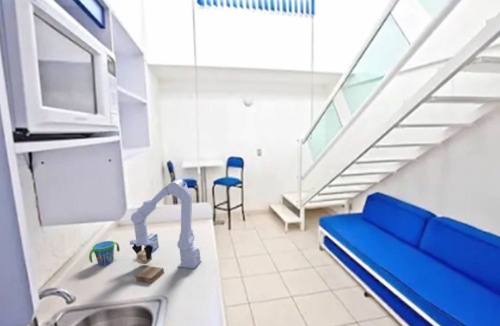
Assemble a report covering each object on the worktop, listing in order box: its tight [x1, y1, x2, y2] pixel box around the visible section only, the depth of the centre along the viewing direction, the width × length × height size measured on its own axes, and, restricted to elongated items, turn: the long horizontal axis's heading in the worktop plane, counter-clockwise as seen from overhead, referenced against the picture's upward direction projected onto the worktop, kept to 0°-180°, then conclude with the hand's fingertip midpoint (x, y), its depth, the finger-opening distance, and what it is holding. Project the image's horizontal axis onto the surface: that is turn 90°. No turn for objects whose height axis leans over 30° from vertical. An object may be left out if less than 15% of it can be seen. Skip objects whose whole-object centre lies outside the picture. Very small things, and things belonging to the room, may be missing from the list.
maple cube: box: [136, 249, 153, 265], centre depth 149 cm, size 5×5×5 cm
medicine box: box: [143, 233, 160, 254], centre depth 166 cm, size 8×4×9 cm, turn 168°
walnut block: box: [135, 265, 165, 284], centre depth 138 cm, size 9×9×3 cm
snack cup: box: [88, 240, 120, 266], centre depth 154 cm, size 16×10×10 cm
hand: (144, 258), depth 149 cm, fingers closed on maple cube, 5 cm apart
